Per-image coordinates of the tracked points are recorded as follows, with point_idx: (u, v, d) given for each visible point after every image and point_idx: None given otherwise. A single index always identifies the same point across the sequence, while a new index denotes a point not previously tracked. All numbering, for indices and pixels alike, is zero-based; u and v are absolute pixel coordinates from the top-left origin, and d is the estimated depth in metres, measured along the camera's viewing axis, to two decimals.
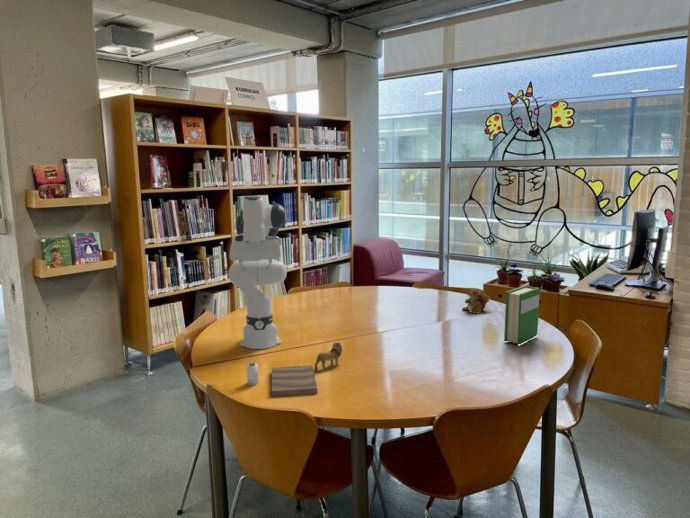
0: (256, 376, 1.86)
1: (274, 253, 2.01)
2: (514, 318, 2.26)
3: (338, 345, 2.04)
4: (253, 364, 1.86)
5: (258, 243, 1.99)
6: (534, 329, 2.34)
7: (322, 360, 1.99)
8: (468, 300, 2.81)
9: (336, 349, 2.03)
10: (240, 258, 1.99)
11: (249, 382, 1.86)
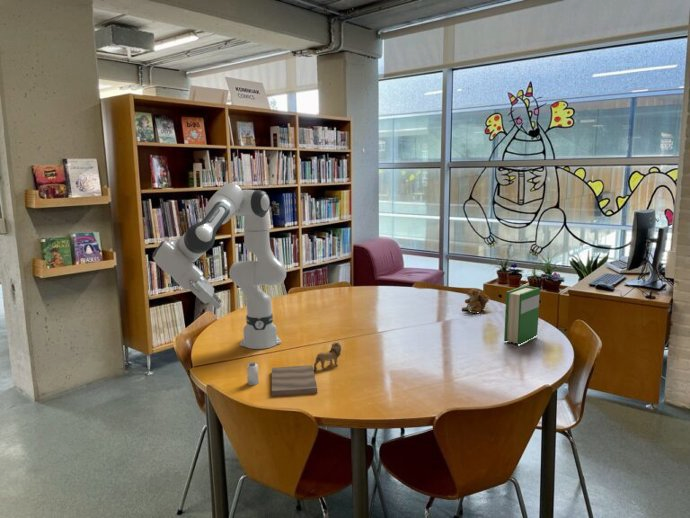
0: (256, 376, 1.86)
1: None
2: (514, 318, 2.26)
3: (337, 345, 2.04)
4: (253, 364, 1.86)
5: (191, 290, 1.78)
6: (534, 329, 2.34)
7: (321, 360, 1.99)
8: (468, 300, 2.81)
9: (336, 349, 2.03)
10: None
11: (249, 382, 1.86)
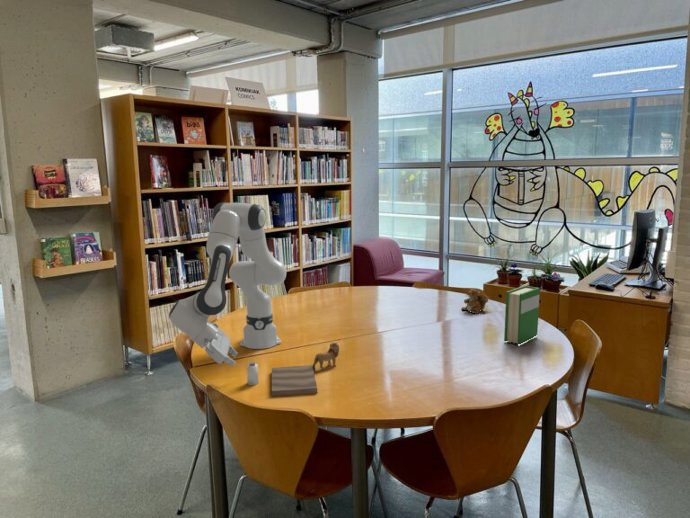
0: (256, 376, 1.86)
1: None
2: (514, 318, 2.26)
3: (336, 345, 2.04)
4: (253, 364, 1.86)
5: None
6: (534, 329, 2.34)
7: (320, 361, 1.99)
8: (467, 300, 2.81)
9: (334, 350, 2.03)
10: None
11: (249, 382, 1.86)
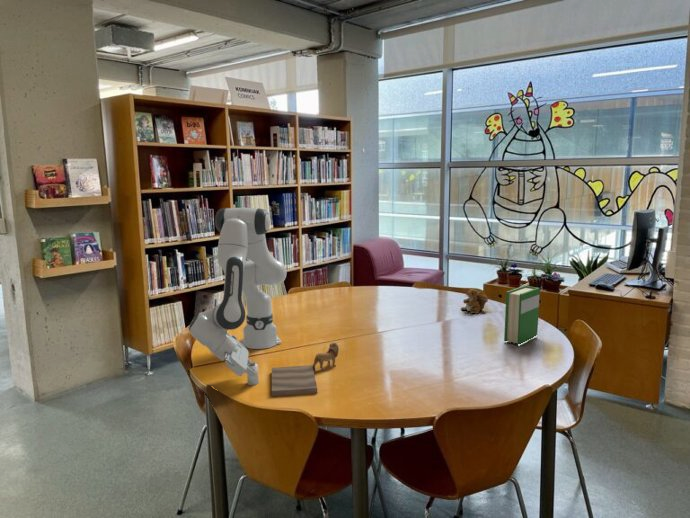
0: (256, 376, 1.86)
1: None
2: (514, 318, 2.26)
3: (335, 345, 2.04)
4: (253, 364, 1.86)
5: None
6: (534, 329, 2.34)
7: (320, 361, 1.98)
8: (466, 300, 2.81)
9: (334, 350, 2.03)
10: None
11: (249, 382, 1.86)
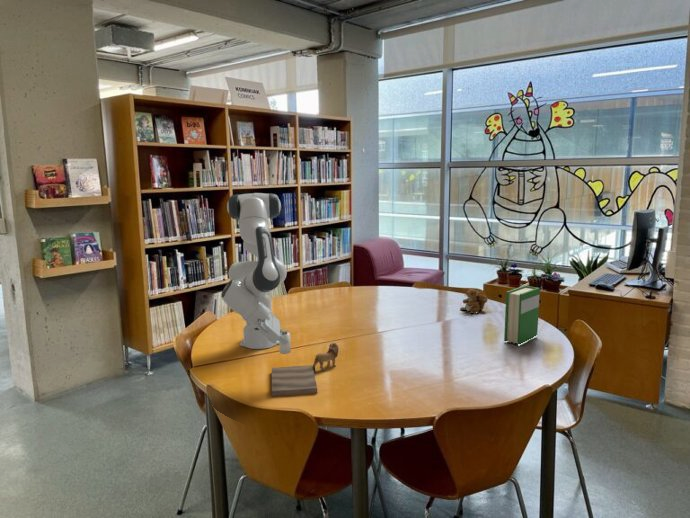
0: (288, 345, 1.84)
1: None
2: (514, 318, 2.26)
3: (335, 346, 2.04)
4: (285, 333, 1.84)
5: (258, 327, 1.82)
6: (534, 329, 2.34)
7: (320, 361, 1.98)
8: (466, 300, 2.81)
9: (334, 350, 2.02)
10: None
11: (281, 351, 1.84)
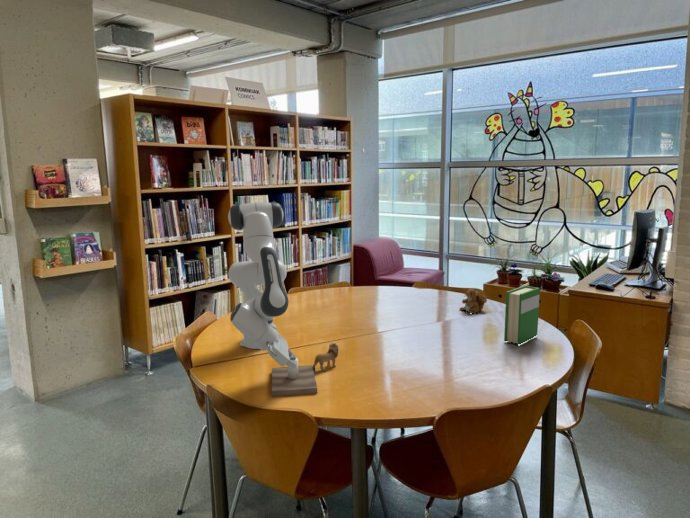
0: (297, 370, 1.86)
1: None
2: (514, 318, 2.26)
3: (335, 346, 2.03)
4: (294, 358, 1.86)
5: (267, 350, 1.83)
6: (534, 329, 2.34)
7: (320, 362, 1.98)
8: (465, 300, 2.81)
9: (334, 350, 2.02)
10: None
11: (290, 376, 1.86)
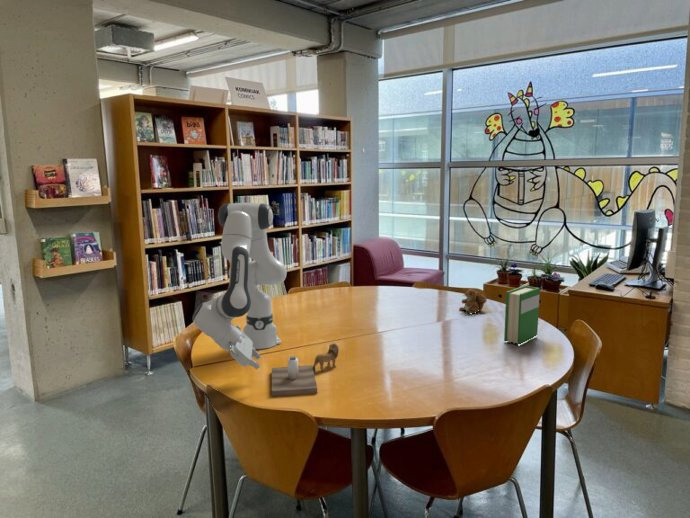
0: (297, 370, 1.86)
1: None
2: (514, 318, 2.26)
3: (335, 346, 2.03)
4: (294, 358, 1.86)
5: (230, 350, 1.81)
6: (534, 329, 2.34)
7: (320, 362, 1.97)
8: (465, 300, 2.81)
9: (334, 350, 2.02)
10: None
11: (290, 376, 1.86)
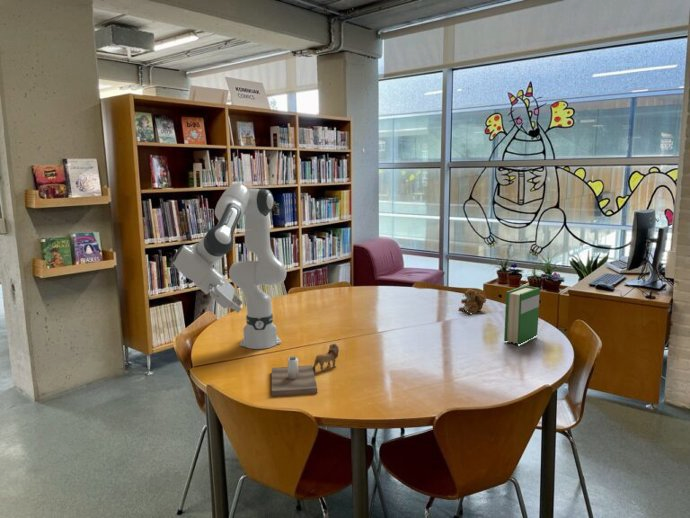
0: (297, 370, 1.86)
1: None
2: (514, 318, 2.26)
3: (335, 346, 2.03)
4: (294, 358, 1.86)
5: None
6: (534, 329, 2.34)
7: (320, 362, 1.97)
8: (464, 300, 2.81)
9: (334, 351, 2.01)
10: None
11: (290, 376, 1.86)
